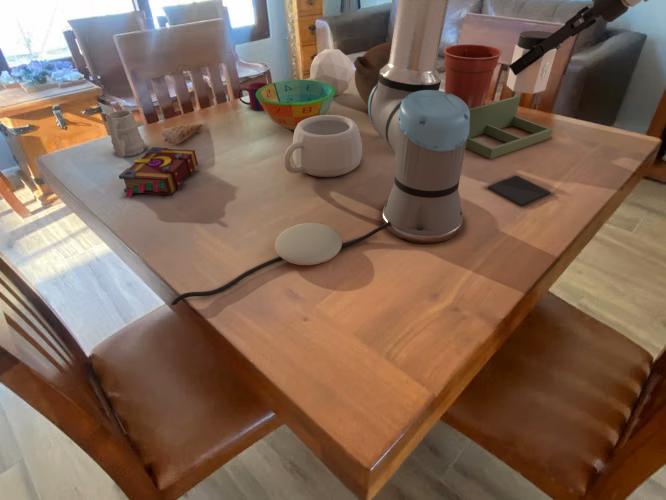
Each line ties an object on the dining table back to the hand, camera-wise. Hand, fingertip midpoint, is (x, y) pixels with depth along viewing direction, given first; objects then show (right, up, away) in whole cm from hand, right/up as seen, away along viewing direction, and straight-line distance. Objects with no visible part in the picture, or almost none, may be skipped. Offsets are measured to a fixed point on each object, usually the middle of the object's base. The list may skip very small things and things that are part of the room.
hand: (519, 66), depth 102 cm
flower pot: (-4, +1, +32) cm, 33 cm away
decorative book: (-85, -28, -2) cm, 89 cm away
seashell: (-86, -13, +17) cm, 88 cm away
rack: (0, -15, +11) cm, 19 cm away
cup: (-70, +2, +36) cm, 79 cm away
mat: (-5, -31, -10) cm, 33 cm away
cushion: (-49, -44, -25) cm, 71 cm away
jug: (-27, -5, +25) cm, 37 cm away
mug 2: (-48, -24, +1) cm, 54 cm away
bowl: (-55, -8, +22) cm, 60 cm away
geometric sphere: (-45, +9, +45) cm, 64 cm away
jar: (+2, -5, +2) cm, 6 cm away
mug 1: (-98, -19, +10) cm, 101 cm away
